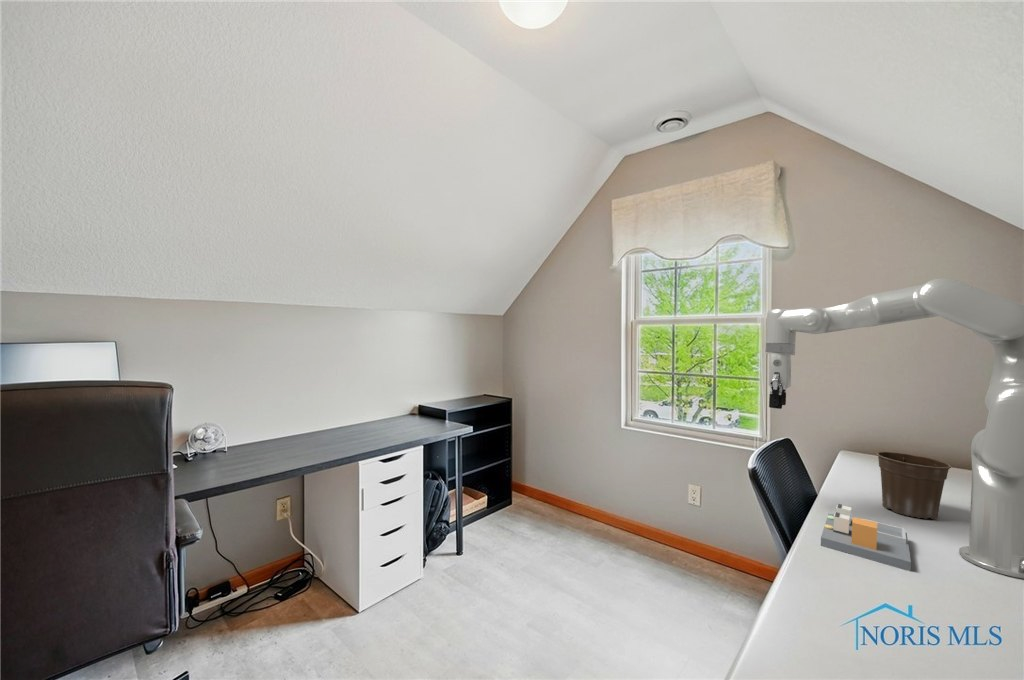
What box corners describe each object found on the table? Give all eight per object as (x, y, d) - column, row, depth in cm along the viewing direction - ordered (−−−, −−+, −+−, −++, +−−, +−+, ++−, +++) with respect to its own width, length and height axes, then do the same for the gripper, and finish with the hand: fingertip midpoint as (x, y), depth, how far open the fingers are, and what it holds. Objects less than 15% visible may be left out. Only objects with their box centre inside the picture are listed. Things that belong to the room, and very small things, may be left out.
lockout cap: (876, 550, 97) (877, 528, 97) (851, 543, 100) (852, 522, 100) (876, 543, 100) (877, 522, 100) (852, 537, 103) (853, 516, 103)
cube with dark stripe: (848, 533, 104) (849, 519, 104) (833, 529, 106) (833, 515, 106) (849, 529, 106) (849, 515, 106) (834, 526, 108) (834, 511, 108)
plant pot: (939, 510, 128) (941, 457, 128) (957, 528, 115) (959, 470, 115) (870, 497, 137) (872, 448, 137) (879, 513, 124) (881, 459, 124)
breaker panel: (910, 571, 92) (911, 556, 92) (820, 545, 102) (821, 532, 102) (906, 540, 107) (906, 527, 107) (828, 520, 117) (828, 509, 117)
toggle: (850, 523, 110) (850, 509, 110) (835, 520, 112) (836, 506, 112) (850, 520, 112) (851, 506, 112) (836, 517, 114) (837, 503, 114)
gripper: (792, 350, 117) (789, 411, 117) (797, 350, 130) (795, 405, 130) (761, 349, 121) (758, 407, 121) (769, 349, 135) (767, 402, 135)
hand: (777, 406), depth 126 cm, fingers open, 9 cm apart
